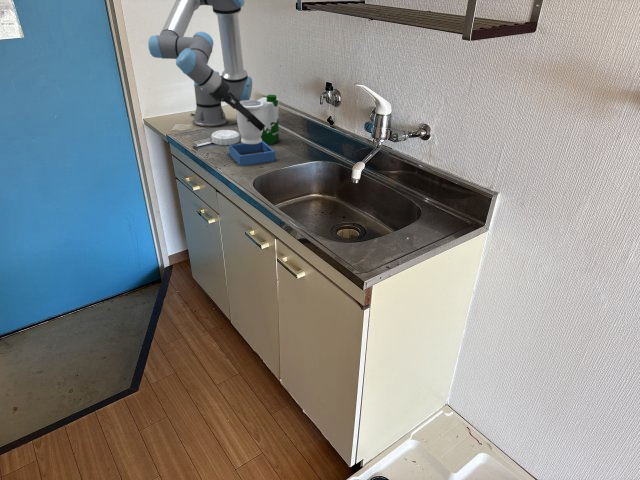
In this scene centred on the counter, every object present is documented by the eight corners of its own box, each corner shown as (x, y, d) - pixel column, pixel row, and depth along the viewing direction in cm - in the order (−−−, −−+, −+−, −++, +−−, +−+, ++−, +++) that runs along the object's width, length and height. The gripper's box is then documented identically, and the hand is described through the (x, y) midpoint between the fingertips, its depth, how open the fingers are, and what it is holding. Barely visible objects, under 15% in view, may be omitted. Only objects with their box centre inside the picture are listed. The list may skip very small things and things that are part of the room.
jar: (259, 147, 181) (258, 107, 174) (234, 144, 183) (231, 105, 175) (267, 138, 190) (267, 100, 183) (243, 135, 192) (241, 98, 184)
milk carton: (272, 145, 203) (271, 98, 193) (254, 142, 206) (252, 96, 196) (281, 140, 210) (281, 94, 200) (263, 137, 213) (262, 91, 203)
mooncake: (228, 147, 199) (228, 139, 198) (206, 142, 204) (205, 134, 202) (245, 139, 209) (244, 131, 207) (223, 135, 213) (222, 127, 211)
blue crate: (229, 154, 192) (228, 145, 190) (263, 150, 198) (262, 140, 196) (240, 166, 182) (239, 156, 180) (275, 161, 188) (275, 151, 186)
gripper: (200, 87, 179) (242, 123, 193) (217, 102, 162) (262, 140, 176) (213, 71, 179) (254, 109, 193) (231, 85, 161) (275, 125, 175)
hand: (257, 124), depth 184 cm, fingers closed on jar, 10 cm apart
